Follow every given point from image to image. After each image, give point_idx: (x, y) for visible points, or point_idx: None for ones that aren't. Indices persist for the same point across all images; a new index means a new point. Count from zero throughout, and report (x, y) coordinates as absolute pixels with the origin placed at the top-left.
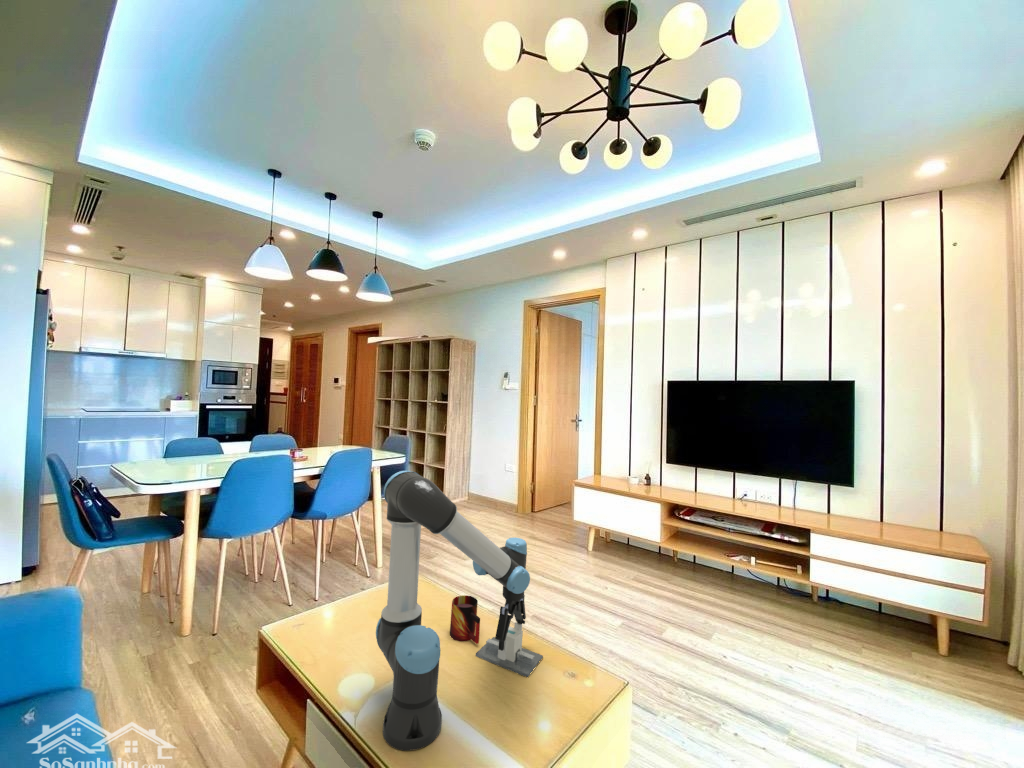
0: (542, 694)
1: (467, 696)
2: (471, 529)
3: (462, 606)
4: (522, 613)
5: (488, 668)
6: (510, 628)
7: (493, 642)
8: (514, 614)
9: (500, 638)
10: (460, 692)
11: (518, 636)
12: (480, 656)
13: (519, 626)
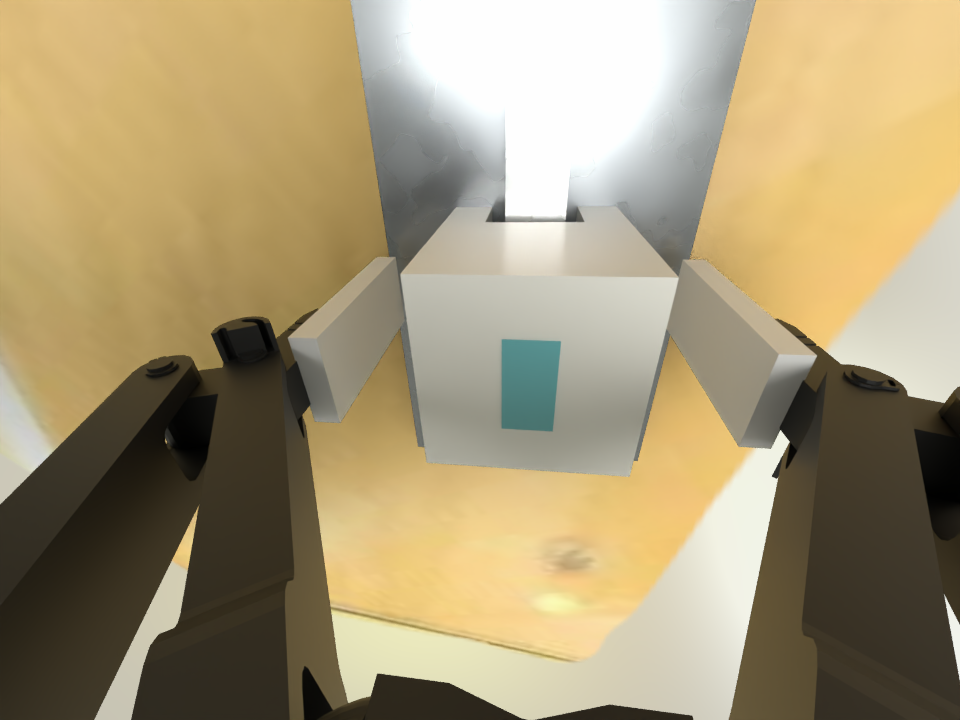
0: (374, 506)
1: (49, 238)
2: None
3: None
4: (953, 557)
5: (321, 202)
6: (613, 346)
7: (533, 88)
8: (809, 498)
9: (167, 441)
10: (17, 178)
11: (516, 460)
12: (361, 44)
13: (738, 409)
